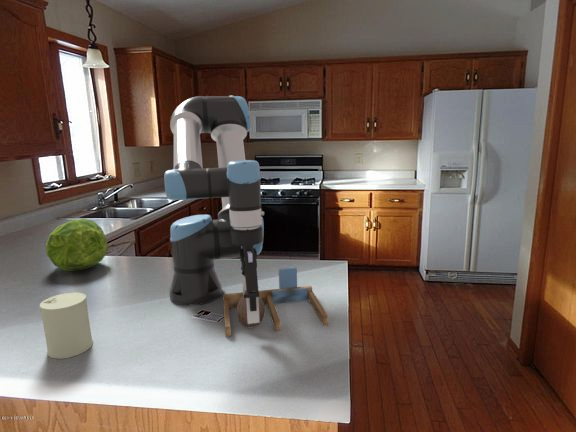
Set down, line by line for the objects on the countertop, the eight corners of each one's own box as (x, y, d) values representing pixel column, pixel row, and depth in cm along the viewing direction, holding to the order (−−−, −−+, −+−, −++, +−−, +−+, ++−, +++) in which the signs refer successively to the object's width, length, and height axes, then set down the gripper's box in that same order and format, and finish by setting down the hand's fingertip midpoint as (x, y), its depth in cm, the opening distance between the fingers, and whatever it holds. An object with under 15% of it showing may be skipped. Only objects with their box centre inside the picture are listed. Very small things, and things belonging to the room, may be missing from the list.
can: (59, 338, 95) (51, 291, 93) (99, 336, 96) (92, 289, 93) (38, 360, 86) (29, 308, 84) (83, 357, 87) (75, 305, 84)
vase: (269, 319, 102) (268, 287, 100) (258, 332, 96) (257, 297, 94) (244, 316, 104) (243, 284, 102) (232, 328, 98) (230, 294, 96)
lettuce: (91, 257, 161) (75, 214, 156) (122, 259, 146) (106, 212, 142) (41, 278, 146) (23, 231, 142) (70, 282, 132) (50, 231, 128)
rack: (225, 336, 94) (224, 322, 93) (223, 306, 111) (223, 294, 110) (327, 324, 98) (327, 311, 97) (311, 297, 115) (311, 285, 114)
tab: (279, 290, 113) (279, 269, 112) (279, 288, 114) (278, 268, 113) (297, 288, 114) (296, 268, 112) (296, 286, 115) (295, 266, 114)
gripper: (269, 237, 83) (273, 332, 87) (256, 215, 107) (260, 290, 111) (233, 240, 82) (238, 336, 86) (228, 217, 106) (233, 293, 110)
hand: (250, 310), depth 99 cm, fingers open, 13 cm apart
